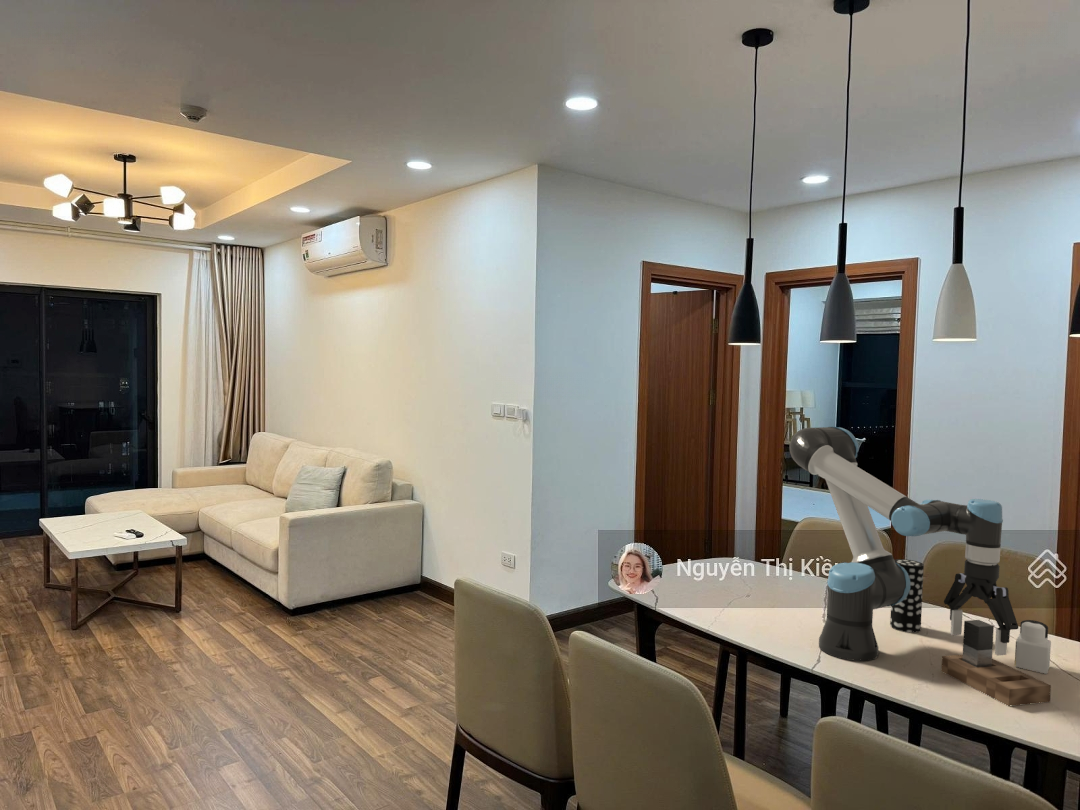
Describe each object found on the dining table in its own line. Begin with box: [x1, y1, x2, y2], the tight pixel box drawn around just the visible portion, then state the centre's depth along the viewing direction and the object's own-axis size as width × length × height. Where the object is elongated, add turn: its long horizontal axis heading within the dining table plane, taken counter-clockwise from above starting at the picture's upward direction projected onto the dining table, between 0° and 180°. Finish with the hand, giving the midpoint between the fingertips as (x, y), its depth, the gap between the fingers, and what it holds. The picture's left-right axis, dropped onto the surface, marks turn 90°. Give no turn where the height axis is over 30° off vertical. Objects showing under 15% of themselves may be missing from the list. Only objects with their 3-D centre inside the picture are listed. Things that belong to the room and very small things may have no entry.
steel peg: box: [962, 619, 995, 668], centre depth 183 cm, size 4×4×14 cm
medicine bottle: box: [1014, 619, 1052, 675], centre depth 191 cm, size 7×7×12 cm
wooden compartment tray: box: [940, 653, 1052, 707], centre depth 178 cm, size 12×20×4 cm, turn 14°
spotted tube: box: [889, 558, 925, 633], centre depth 218 cm, size 8×8×20 cm
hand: (977, 644), depth 183 cm, fingers open, 13 cm apart
